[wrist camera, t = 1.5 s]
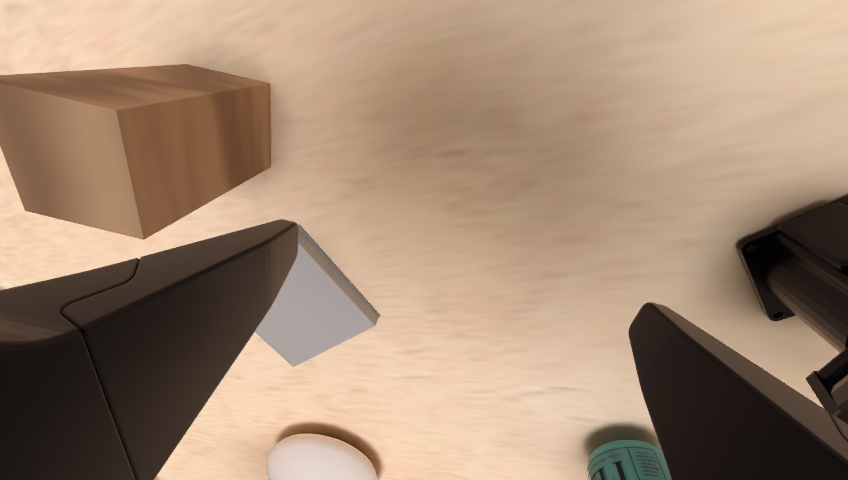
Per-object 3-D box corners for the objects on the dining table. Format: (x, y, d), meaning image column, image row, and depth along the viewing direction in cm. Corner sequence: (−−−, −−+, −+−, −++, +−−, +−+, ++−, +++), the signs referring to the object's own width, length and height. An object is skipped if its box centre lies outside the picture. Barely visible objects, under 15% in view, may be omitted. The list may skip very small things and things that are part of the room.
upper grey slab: (378, 316, 28) (374, 325, 27) (298, 357, 31) (293, 367, 30) (296, 226, 25) (289, 233, 24) (218, 282, 28) (209, 290, 27)
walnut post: (269, 83, 21) (115, 110, 12) (270, 166, 23) (143, 239, 14) (186, 64, 21) (-26, 77, 12) (196, 149, 23) (25, 210, 15)
